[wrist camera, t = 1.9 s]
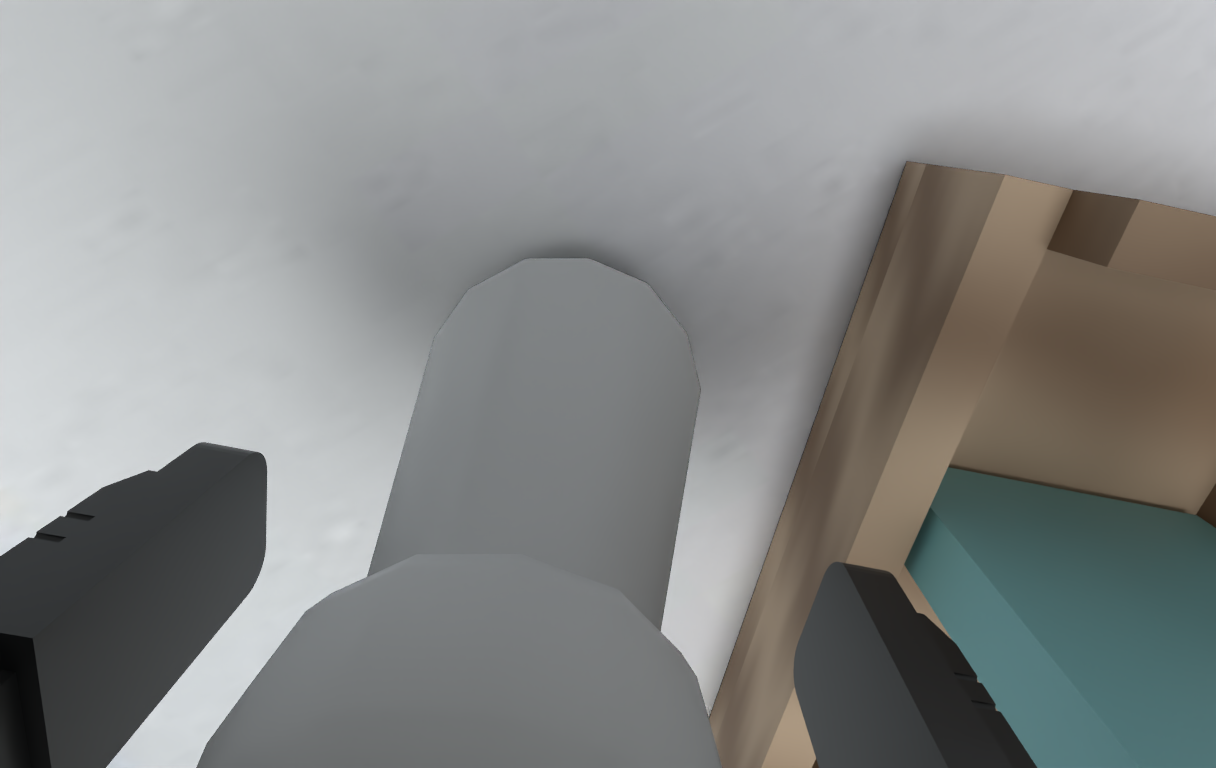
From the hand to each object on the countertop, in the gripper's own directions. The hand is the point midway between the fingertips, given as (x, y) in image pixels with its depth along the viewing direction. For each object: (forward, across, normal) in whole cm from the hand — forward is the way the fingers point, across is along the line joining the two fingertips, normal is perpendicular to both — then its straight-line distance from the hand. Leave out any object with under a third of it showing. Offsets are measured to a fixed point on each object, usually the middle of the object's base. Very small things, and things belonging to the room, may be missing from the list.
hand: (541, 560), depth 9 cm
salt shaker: (+8, 0, 0) cm, 8 cm away
